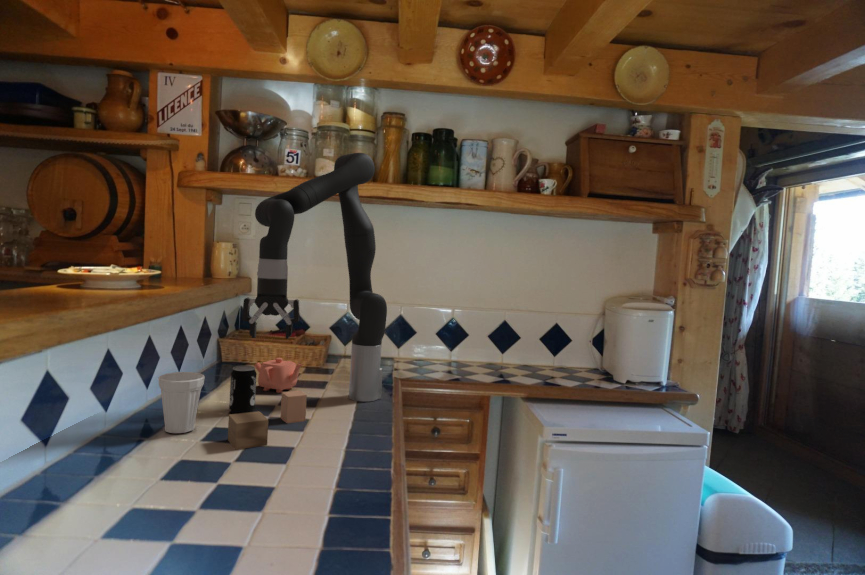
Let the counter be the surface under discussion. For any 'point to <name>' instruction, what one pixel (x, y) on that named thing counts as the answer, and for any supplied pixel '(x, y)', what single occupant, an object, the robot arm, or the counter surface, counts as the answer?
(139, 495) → the counter surface
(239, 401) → the beverage can
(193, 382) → the cup
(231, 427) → the base block
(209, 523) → the counter surface
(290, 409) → the tan cardboard cube
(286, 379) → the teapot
